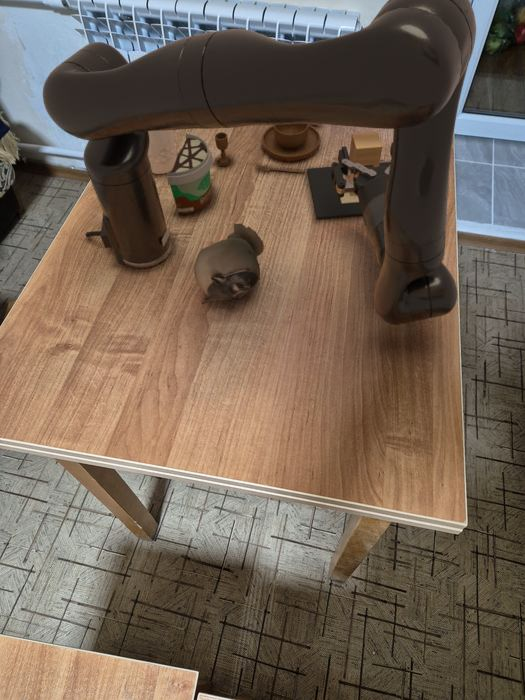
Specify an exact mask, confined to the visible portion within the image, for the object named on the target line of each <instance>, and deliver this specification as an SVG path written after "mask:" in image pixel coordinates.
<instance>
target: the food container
mask: <svg viewBox="0 0 525 700" xmlns="http://www.w3.org/2000/svg"><path fill="white" fill-rule="evenodd" d="M213 163H214V159H213V154H212V152H211V149H210V147H209V145H208V144H207V143H206V141H205V140H204V139H202V137H200V136H198V135H196V134H191V133H185V141H184V144H183V145H182V148H181V149H180V151H179V152H178V153H177V159H176V161H175V164H174V167H173V169H172V171H170V172H167V173H166V179H167V185H168V186H170V190H171V192H172V196H173V200H174V205H175V207H176V211H177V213H178V214H177V215H179V216H188V215H194V214H197V213H200V212H201V211H203V210H204V209H206V208H207V207H208V206H209V205H210V204H211V201H212V195H213V194H212V182H211V181H212V179H211V168H212V167H213Z"/></svg>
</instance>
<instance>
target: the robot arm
mask: <svg viewBox="0 0 525 700" xmlns="http://www.w3.org/2000/svg"><path fill="white" fill-rule="evenodd" d="M476 36H477V22H476V16H475V12H474V9H473V6H472V3H471V1H470V0H387V1H386V2H385V3H384V4H383V6H382V7H381V9H380V10H379V11H378V13H377V14H376V16H375V17H374V18H373V19H372V21H371V22H370V23H369V24H368V25H367V26H365V27H363V28H362V29H359V30H357V31H356V30H355V31H353V32H350V33H347V34H344V35H340V36H336V37H331V38H326V39H321V40H316V41H311V42H304V43H303V42H302V43H288V42H282V41H280V40H277V39H275V38H272V37H270V36H267V35H265V34H263V33H259V32H257V31H255V30H250V29H245V28H228V29H227V28H226V29H220V30H216V31H209V32H203V33H199V34H193V35H190V36H186V37H183V38H179V39H177V40H174V41H172V42H170V43H167V44H165V45H163V46H161V47H159V48H156V49H155V50H154V49H153V50H152V51H150V52H148V53H146V54H144V55H142V56H140V57H137V58H136V59H134V60H131V61H130V62H128V60H127V58H125V56H123V54H122V53H121V52H120V51H119V50H118V49H117V48H116V47H114V46H113V45H111V44H109V43H106V42H104V41H103V42H102V41H93V42H90V43H87V44H85V45H84V46H83V47H81V48H80V49H78V50H77V51H76V52H75V53H73V54H71V56H69V57H68V58H66V59H65V60H64V61H62V62H61V63H60V64H58V65H57V66H56V67H55V68H53V70H51V72H50V73H49V74H48V76H47V77H46V79H45V81H44V84H43V87H42V101H43V105H44V108H45V110H46V112H47V115H48V116H49V117H50V119H51V121H52V122H53V123H55V125H56V126H58V128H60V129H61V130H62V131H64V132H65V133H67V134H68V135H70V136H72V137H75V138H77V139H81V140H83V141H87V143H86V145H85V148H84V149H83V156H82V157H83V164H84V166H85V169H86V172H87V174H88V177H89V180H90V182H91V185H92V188H93V190H94V193H95V195H96V198H97V200H98V203H99V205H100V209H101V211H102V218H101V229H100V230H98V231H97V230H96V231H87V232H86V233H85V237H86V238H90V237H99V236H100V238H101V240H102V243H103V245H104V248H105V249H109V248H110V249H111V248H112V251H113V253H114V257H115V260H116V262H117V263H118V264H125V265H126V266H128V267H131V268H134V269H149V268H151V267H155V266H157V265H159V264H161V263H162V262H164V261H165V260H166V259H167V258H168V257H169V255H170V254H171V252H172V247H173V243H172V240H171V236H170V235H171V231H170V229H169V227H168V226H167V223H166V218H165V215H164V210H163V206H162V203H161V200H160V196H159V192H158V191H159V190H158V188H157V183H156V180H155V177H154V173H153V172H152V168H151V164H150V160H149V156H148V150H149V143H150V139H149V133H148V131H165V130H174V131H178V130H194V129H197V130H198V129H199V130H210V129H211V130H215V129H216V130H217V129H232V128H233V129H235V128H242V127H252V126H273V125H288V124H309V125H310V124H318V125H330V126H342V127H343V126H344V127H354V128H366V129H383V130H393V137H392V142H391V144H390V150H389V154H390V157H391V158H390V162H391V164H390V166H389V167H386V165H385V166H378V167H367V168H366V167H365V166H363V165H361V164H359V163H356V164H355V163H353V162H351V161H350V158H349V150H348V148H347V146H346V145H345V146H341V149H339V150H338V153H337V154H338V155H337V161H338V162H337V161H333V162H332V163H331V166H330V167H332V169H331V180H332V183H333V186H334V189H335V192H336V195H337V197H339V198H342V197H344V193H348V192H354V193H355V194H356V195H357V196H358V199H359V203H360V207H361V210H362V214H363V216H362V218H363V224H364V226H365V228H366V231H367V234H368V236H369V238H370V241H371V243H372V247H373V250H374V254H375V257H376V258H375V259H376V261H377V264H378V265H379V267H380V272H379V275H378V277H377V279H376V283H375V289H374V297H373V298H374V307H375V310H376V312H377V314H378V316H379V317H380V319H382V320H383V321H384V322H385V323H387V324H391V325H395V326H397V325H404V324H408V323H414V322H419V321H425V320H429V319H434V318H435V319H436V318H440V317H443V316H446V315H448V314H449V313H451V312H452V311H453V310H454V307H456V304H457V300H458V288H457V283H456V281H455V279H454V276H453V275H452V273H451V272H450V270H449V269H448V268H447V266H446V265H445V264H444V262H443V260H444V258H445V257H444V256H445V250H446V233H447V231H446V230H447V216H448V215H447V214H448V197H449V196H448V195H449V180H450V168H451V158H452V147H453V142H454V141H453V140H454V133H455V127H456V120H457V115H458V110H459V105H460V99H461V95H462V90H463V86H464V84H465V79H466V74H467V71H468V67H469V65H470V64H469V63H470V60H471V58H472V55H473V52H474V49H475V42H476ZM348 169H350V171H351V172H350V171H348ZM359 173H360V175H359V176H358V174H359ZM343 176H344V177H346V178H344V177H343ZM347 179H349V181H350V183H349V182H348V181H347Z"/></svg>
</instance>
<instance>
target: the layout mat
mask: <svg viewBox="0 0 525 700" xmlns="http://www.w3.org/2000/svg"><path fill="white" fill-rule="evenodd" d="M390 164H391V161H387V162H386V161H385V162H380V164H379V166H385V165H386V167H389V166H390ZM331 169H332V167H331V166H323V167H312V168H307V169H306V172H307V178H308V182H309V183H308V184H309V187H310V192H311V198H312V203H313V208H314V212H315V213H314V214H315V218H316V220H330V219H341V218H342V219H343V218H355V217H363V214H362V210H361V207H360V203H359V199H358V196H350V193H349V192H348V193H344V197H342V198H339V197H337V195H336V192H335V189H334V186H333V183H332V180H331ZM343 177H344V176H343ZM344 178H346V177H344Z"/></svg>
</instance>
